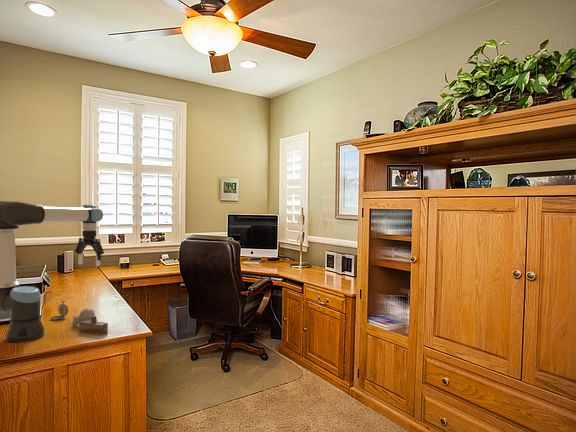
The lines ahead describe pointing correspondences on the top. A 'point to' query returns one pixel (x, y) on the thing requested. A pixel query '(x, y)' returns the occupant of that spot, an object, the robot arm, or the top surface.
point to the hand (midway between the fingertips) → (89, 265)
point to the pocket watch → (61, 312)
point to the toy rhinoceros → (83, 316)
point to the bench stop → (93, 326)
